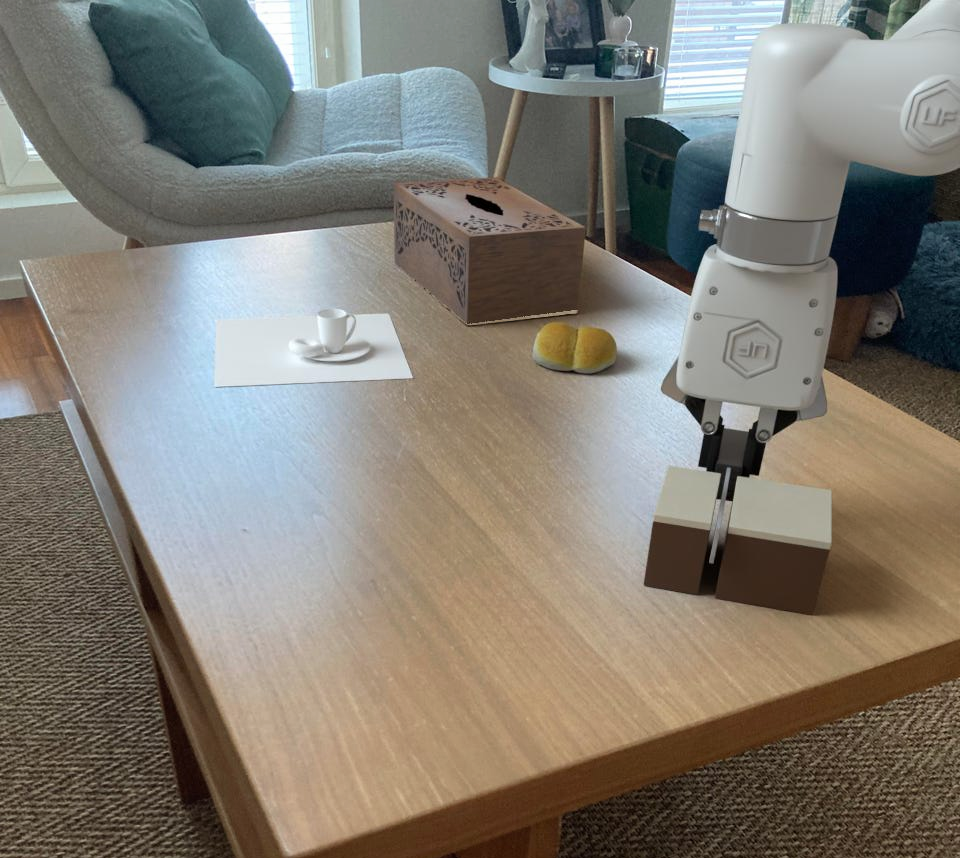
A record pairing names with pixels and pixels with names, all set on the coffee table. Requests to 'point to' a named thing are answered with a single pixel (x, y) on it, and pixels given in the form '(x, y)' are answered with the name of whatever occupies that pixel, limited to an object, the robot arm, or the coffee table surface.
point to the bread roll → (574, 348)
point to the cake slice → (681, 530)
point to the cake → (776, 545)
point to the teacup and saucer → (307, 349)
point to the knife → (728, 473)
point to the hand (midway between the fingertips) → (727, 477)
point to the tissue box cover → (487, 248)
